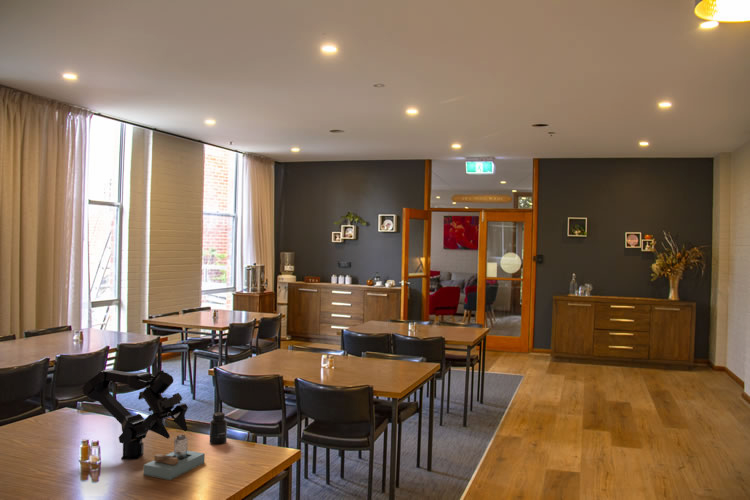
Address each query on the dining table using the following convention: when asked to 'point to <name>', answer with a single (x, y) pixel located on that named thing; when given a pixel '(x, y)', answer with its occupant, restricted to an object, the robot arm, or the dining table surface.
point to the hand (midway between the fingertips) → (177, 434)
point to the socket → (174, 466)
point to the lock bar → (166, 459)
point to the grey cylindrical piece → (180, 447)
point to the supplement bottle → (218, 429)
